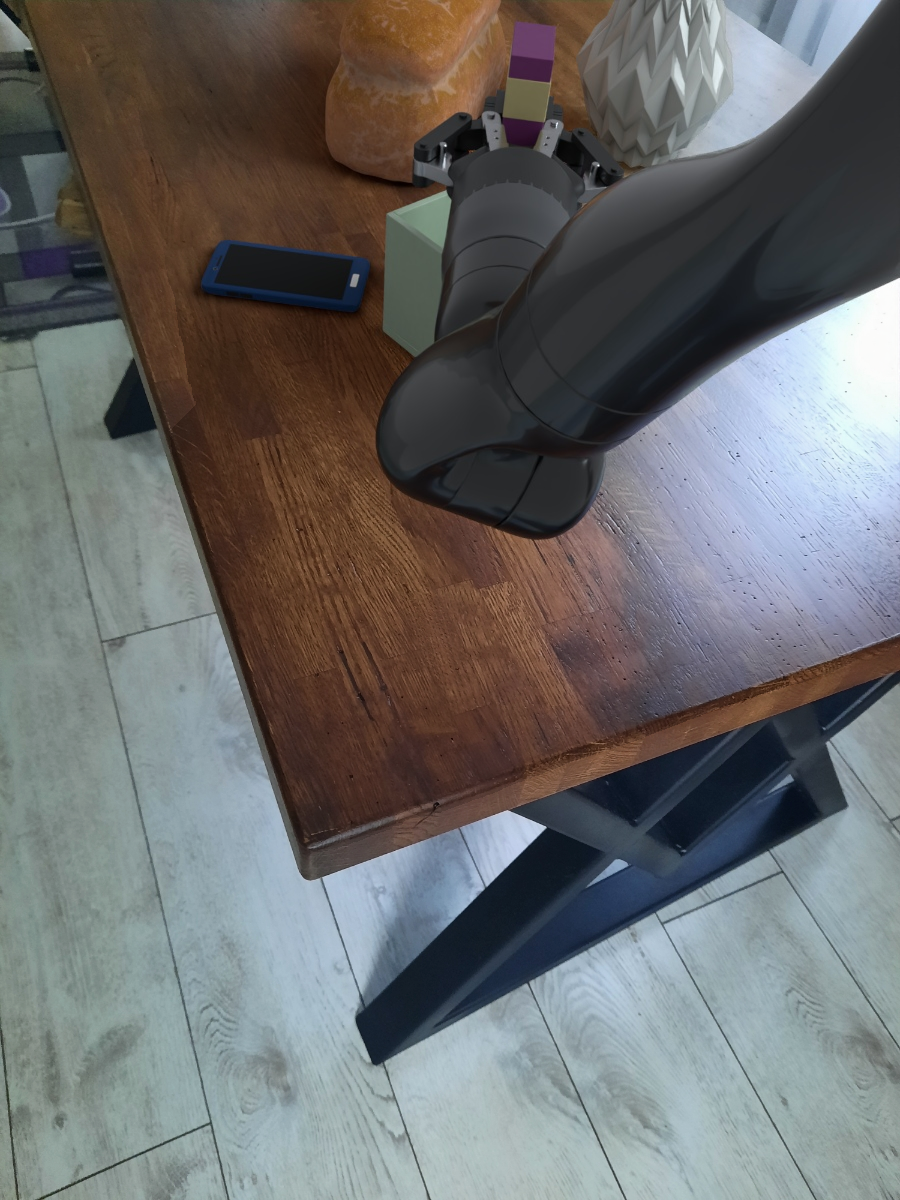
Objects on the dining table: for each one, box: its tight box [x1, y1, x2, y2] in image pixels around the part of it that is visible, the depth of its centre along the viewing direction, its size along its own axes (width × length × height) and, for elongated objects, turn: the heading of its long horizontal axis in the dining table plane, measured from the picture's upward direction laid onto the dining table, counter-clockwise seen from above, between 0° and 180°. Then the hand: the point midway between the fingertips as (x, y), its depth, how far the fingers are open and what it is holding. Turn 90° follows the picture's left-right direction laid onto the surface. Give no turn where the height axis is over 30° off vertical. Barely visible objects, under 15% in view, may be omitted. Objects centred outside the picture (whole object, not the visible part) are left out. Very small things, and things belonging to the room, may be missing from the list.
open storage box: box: [382, 189, 451, 359], centre depth 75 cm, size 13×13×11 cm
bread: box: [324, 0, 507, 184], centre depth 95 cm, size 14×26×15 cm, turn 161°
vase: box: [575, 0, 735, 168], centre depth 94 cm, size 16×16×18 cm
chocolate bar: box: [502, 20, 556, 146], centre depth 62 cm, size 5×3×12 cm, turn 175°
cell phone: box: [200, 239, 371, 313], centre depth 82 cm, size 7×14×1 cm, turn 84°
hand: (522, 107), depth 63 cm, fingers closed on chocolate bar, 2 cm apart
